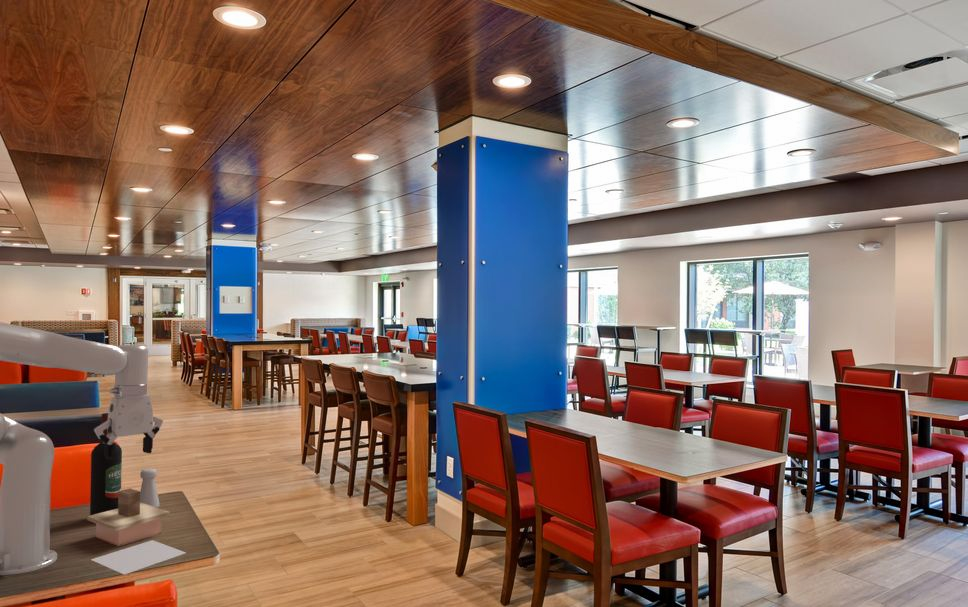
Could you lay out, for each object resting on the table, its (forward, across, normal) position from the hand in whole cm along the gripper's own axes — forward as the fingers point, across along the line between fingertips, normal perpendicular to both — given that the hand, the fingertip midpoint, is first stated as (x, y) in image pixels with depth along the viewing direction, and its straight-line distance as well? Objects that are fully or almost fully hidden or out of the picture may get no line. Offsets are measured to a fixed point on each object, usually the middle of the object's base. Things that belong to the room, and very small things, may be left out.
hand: (128, 455), depth 164 cm
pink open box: (+21, +1, 0) cm, 21 cm away
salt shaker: (+22, +14, +14) cm, 29 cm away
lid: (+16, 0, 0) cm, 16 cm away
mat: (+22, -5, -16) cm, 27 cm away
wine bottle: (+22, +5, +20) cm, 30 cm away
